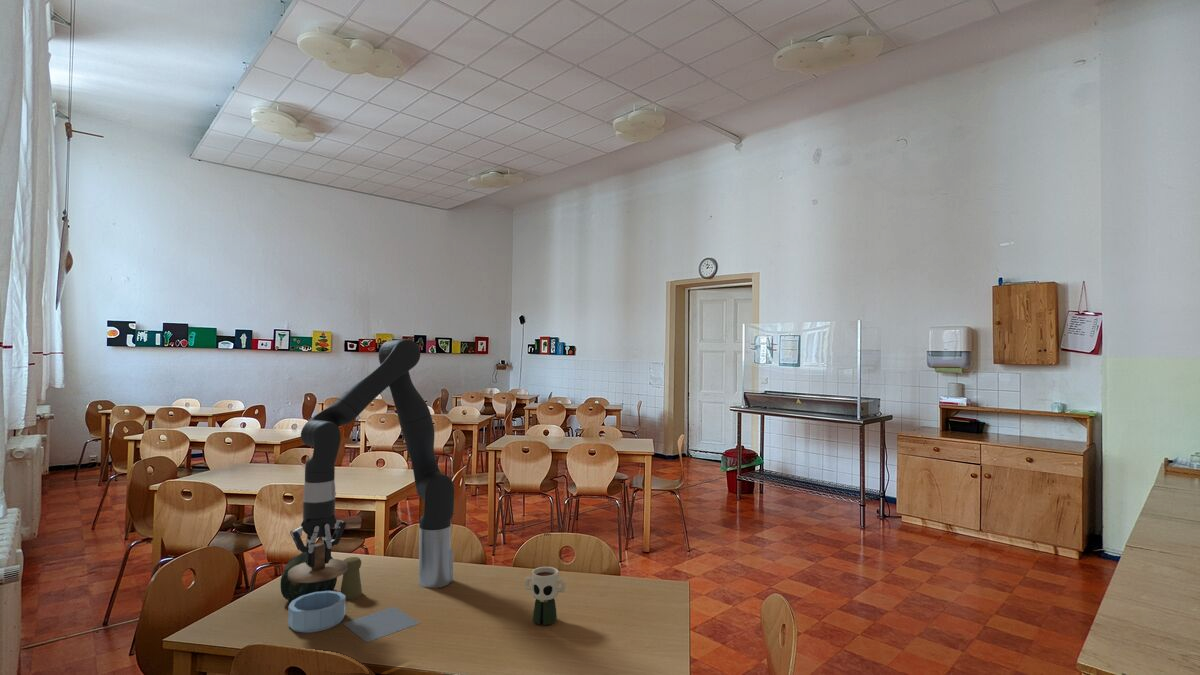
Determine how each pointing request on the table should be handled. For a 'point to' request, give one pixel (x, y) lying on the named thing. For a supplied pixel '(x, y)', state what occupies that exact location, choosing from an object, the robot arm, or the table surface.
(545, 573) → the character mug
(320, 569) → the lid
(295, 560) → the squash
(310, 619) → the bowl
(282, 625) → the table surface
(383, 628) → the mat
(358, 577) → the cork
